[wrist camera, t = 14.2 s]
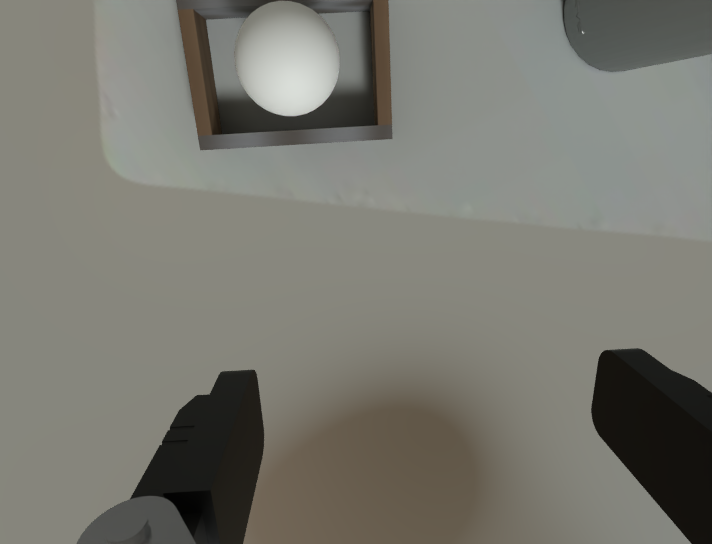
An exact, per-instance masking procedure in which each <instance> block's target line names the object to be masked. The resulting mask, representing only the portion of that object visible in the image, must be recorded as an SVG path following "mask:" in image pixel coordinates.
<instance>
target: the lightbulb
mask: <svg viewBox="0 0 712 544" xmlns="http://www.w3.org/2000/svg"><path fill="white" fill-rule="evenodd" d="M234 55H235V66H236V70H237V74H238V77H239V80H240V82H241V84H242V86H243V88H244V89H245V91H246V92H247V94H248V95H249V96H250V97H251V98H252V99H253V100H254V101H255V102H256V103H257V104H258V105H259V106H261V107H262V108H264V109H265V110H267V111H270V112H272V113H274V114H279V115H283V116H298V115H303V114H306V113H309V112H311V111H313V110H315V109H316V108H318V107H319V106H321V105H322V104H323V103H324V102H325V101H326V100H327V99H328V97H329V96H330V94H331V93H332V91H333V89H334V87H335V85H336V82H337V79H338V74H339V69H340V55H339V50H338V45H337V42H336V39H335V36H334V34H333V32H332V31H331V29H330V27H329V25H328V24H327V23H326V22H325V21H324V19H323V18H322V17H321V16H320V15H319V14H317V13H316V12H315V11H314V10H312V9H311V8H309V7H307V6H304V5H302V4H300V3H296V2H292V1H275V2H270V3H267V4H265V5H263V6H261V7H259V8H258V9H256V10H255V11H254V12H252V13H251V14H250V15H249V16H248V18H247V19H246V20H245V21H244V23H243V25H242V26H241V28H240V30H239V32H238V36H237V39H236V43H235V51H234Z"/></svg>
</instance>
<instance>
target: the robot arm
mask: <svg viewBox="0 0 712 544" xmlns="http://www.w3.org/2000/svg"><path fill="white" fill-rule="evenodd" d="M564 23H565V28H566V32H567V36H568V39H569V41H570V43H571V45H572V48H573V49H574V50H575V52H576V53H577V54H578V56H579V57H580V58H581V59H582V60H584V61H585V62H586V63H587V64H589V65H590V66H593V67H595V68H597V69H599V70H604V71H610V72H617V71H627V70H632V69H637V68H642V67H647V66H652V65H658V64H663V63H668V62H674V61H679V60H684V59H689V58H694V57H699V56H704V55H709V54H712V0H565V6H564ZM591 413H592V419H593V423H594V426H595V429H596V431H597V432H598V434H599V436H600V437H601V438H602V439H603V440H604V442H605V443H606V444H607V445H608V446H609V447H610V449H611V450H612V451H613V452H614V453H615V454H616V456H617V457H618V458H619V459H620V460H621V461H622V463H623V464H624V465H625V466H626V467H627V469H629V471H630V472H631V473H632V474H633V476H634V477H635V478H636V479H637V480H638V481H639V483H640V484H641V485H642V486H643V487H644V488H645V490H646V491H647V492H648V493H649V494H650V495H651V497H652V498H653V499H654V500H655V501H656V502H657V504H658V505H659V506H660V507H661V508H662V510H663V511H664V512H665V513H666V514H667V515H668V517H669V518H670V519H671V520H672V521H673V522H674V524H676V526H677V527H678V528H679V529H680V530H681V532H682V533H683V534H684V535H685V536H686V538H687V539H688V540H689V541H690V542H691V543H692V544H712V393H711V392H710V391H708V390H707V389H705V388H704V387H702V386H701V385H700V384H698V383H697V382H696V381H694V380H692V379H690V378H688V377H685V376H683V375H681V374H679V373H677V372H674V371H672V370H670V369H669V368H667V367H666V366H665V365H663V364H662V363H660V362H659V361H658V360H656V359H655V358H654V357H652V356H651V355H650V354H648V353H647V352H645V351H644V350H642V349H638V348H637V349H621V350H620V349H618V350H605V351H603V352H602V353H601V355H600V357H599V361H598V367H597V374H596V380H595V387H594V394H593V401H592V408H591ZM263 449H264V427H263V420H262V411H261V403H260V395H259V388H258V380H257V374H256V372H255V370H241V371H224V372H221V373H220V374H219V376H218V378H217V380H216V382H215V385H214V387H213V389H212V391H211V393H210V395H197V396H195V397H194V398H193V399H192V400H191V401H190V402H188V403H187V404H186V405H185V406H184V407H182V409H180V410H179V412H178V414H177V415H176V417H175V419H174V421H173V423H172V424H171V426H170V430H169V431H168V432H167V433H166V435H165V437H164V439H163V441H162V445H160V446H159V448H158V450H157V451H156V453H155V455H154V457H153V459H152V460H151V462H150V464H149V466H148V468H147V469H146V471H145V473H144V475H143V477H142V479H141V480H140V482H139V484H138V486H137V487H136V489H135V491H134V493H133V495H132V497H131V498H130V500H127V501H124V502H122V503H120V504H118V505H116V506H114V507H112V508H110V509H109V510H107V511H106V512H104V513H103V514H101V515H100V516H99V517H98V518H96V519H95V520H94V521H93V522H92V523H91V524H90V525H89V526H88V527H87V528H86V530H85V531H84V532H83V533H82V535H81V537H80V538H79V540H78V542H77V544H243V541H244V537H245V532H246V528H247V523H248V518H249V514H250V510H251V505H252V501H253V496H254V492H255V488H256V483H257V479H258V474H259V470H260V465H261V460H262V456H263Z"/></svg>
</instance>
